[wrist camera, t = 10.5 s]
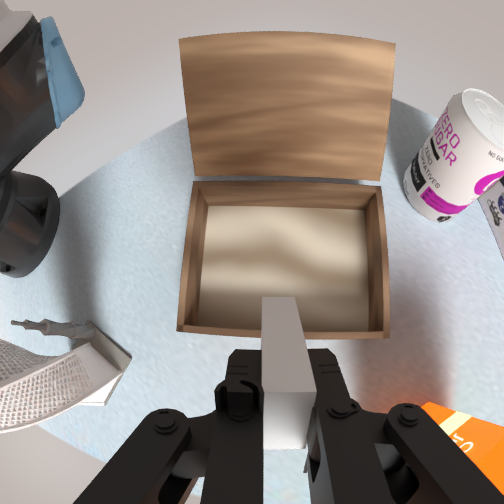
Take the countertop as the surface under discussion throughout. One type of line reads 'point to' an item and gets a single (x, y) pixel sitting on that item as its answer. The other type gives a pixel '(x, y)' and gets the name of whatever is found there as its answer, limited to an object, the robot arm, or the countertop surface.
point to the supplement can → (458, 157)
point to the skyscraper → (57, 375)
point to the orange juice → (474, 440)
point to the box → (285, 258)
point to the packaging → (495, 210)
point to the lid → (287, 103)
